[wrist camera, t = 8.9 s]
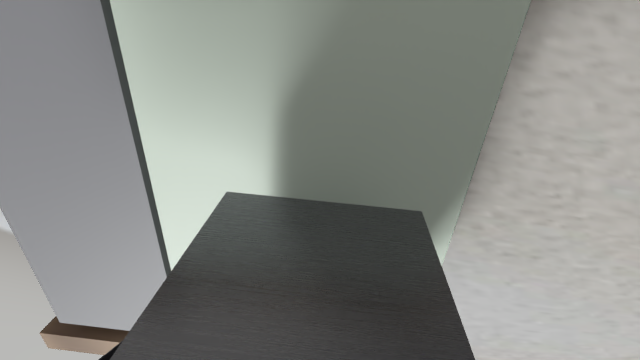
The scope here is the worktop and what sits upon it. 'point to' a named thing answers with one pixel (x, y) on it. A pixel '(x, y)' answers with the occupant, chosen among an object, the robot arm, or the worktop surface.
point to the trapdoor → (229, 123)
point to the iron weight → (302, 288)
